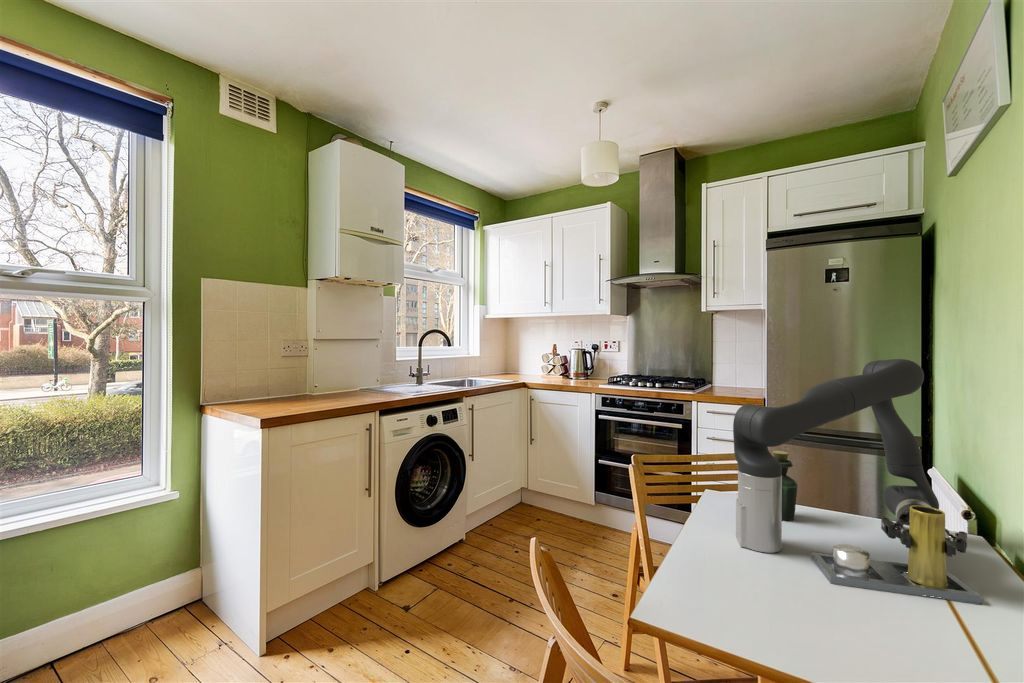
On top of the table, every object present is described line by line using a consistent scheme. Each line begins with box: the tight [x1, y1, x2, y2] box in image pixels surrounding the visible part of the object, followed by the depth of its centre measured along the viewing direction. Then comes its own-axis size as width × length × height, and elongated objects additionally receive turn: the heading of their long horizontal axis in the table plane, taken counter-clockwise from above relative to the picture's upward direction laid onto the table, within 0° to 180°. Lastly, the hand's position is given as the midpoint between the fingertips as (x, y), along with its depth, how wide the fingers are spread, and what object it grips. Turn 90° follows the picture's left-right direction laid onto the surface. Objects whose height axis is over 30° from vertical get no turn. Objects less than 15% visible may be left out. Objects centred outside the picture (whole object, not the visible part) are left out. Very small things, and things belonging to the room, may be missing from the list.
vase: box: [906, 505, 949, 589], centre depth 90 cm, size 6×6×14 cm
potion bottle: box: [772, 450, 798, 522], centre depth 126 cm, size 8×8×18 cm
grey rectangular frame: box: [810, 543, 982, 605], centre depth 92 cm, size 24×11×5 cm, turn 73°
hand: (928, 547), depth 88 cm, fingers closed on vase, 5 cm apart
